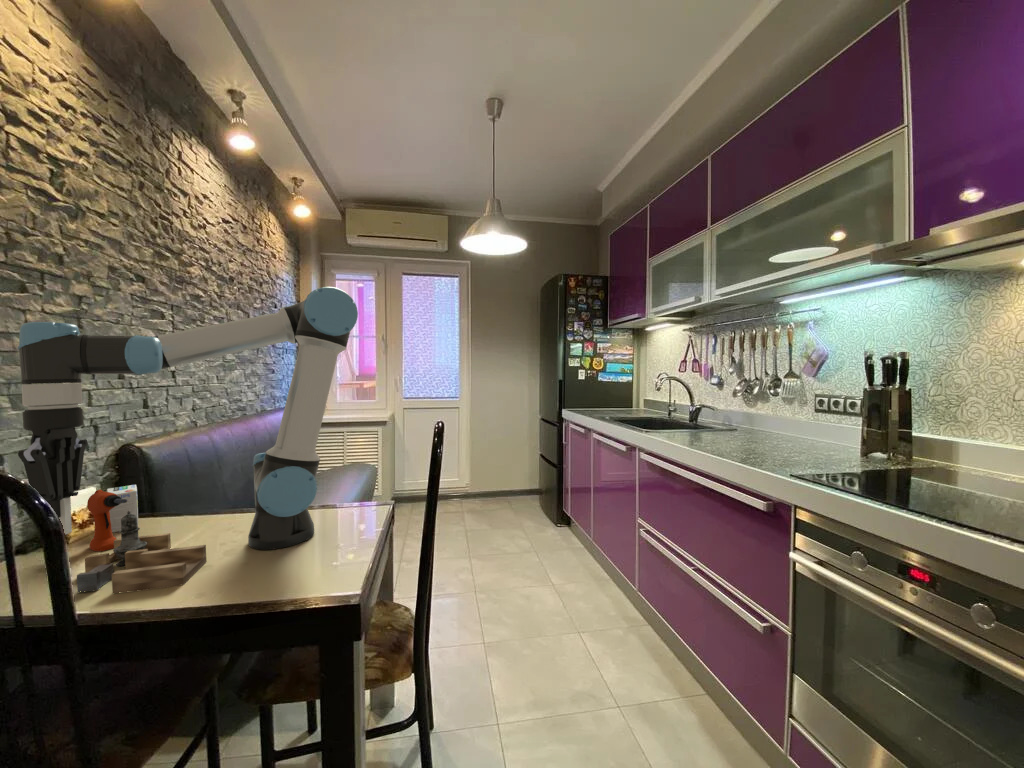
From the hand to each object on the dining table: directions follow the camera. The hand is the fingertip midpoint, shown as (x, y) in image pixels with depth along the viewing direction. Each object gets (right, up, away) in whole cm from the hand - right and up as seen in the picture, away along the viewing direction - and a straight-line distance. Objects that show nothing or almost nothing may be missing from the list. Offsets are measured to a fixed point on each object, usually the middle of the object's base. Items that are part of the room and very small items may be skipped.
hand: (59, 533), depth 79 cm
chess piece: (-5, -14, +20) cm, 25 cm away
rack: (+9, -14, +12) cm, 20 cm away
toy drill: (-16, -14, +28) cm, 35 cm away
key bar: (-2, -14, +9) cm, 17 cm away
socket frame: (-5, -14, +20) cm, 25 cm away
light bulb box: (-29, -14, +45) cm, 55 cm away
